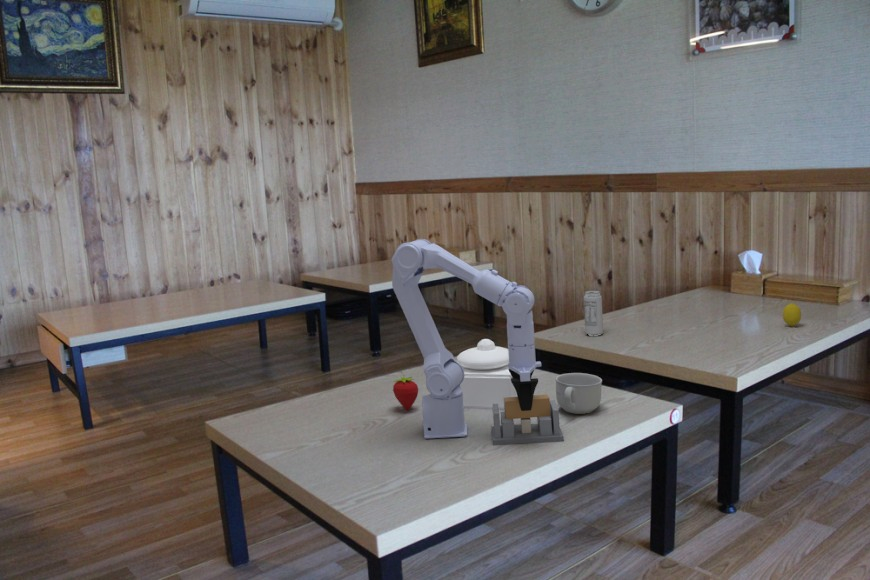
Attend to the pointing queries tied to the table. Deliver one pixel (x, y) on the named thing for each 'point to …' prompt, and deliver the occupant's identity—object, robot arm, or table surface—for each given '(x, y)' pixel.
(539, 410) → the orange-brown rectangular block
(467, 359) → the butter dish
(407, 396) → the strawberry
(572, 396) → the teacup
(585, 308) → the energy drink can
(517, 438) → the display stand
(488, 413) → the table surface
